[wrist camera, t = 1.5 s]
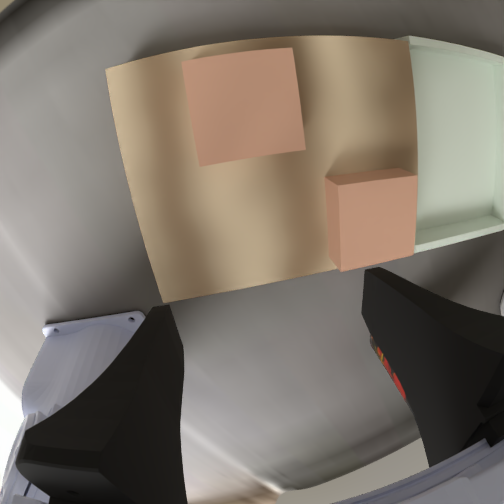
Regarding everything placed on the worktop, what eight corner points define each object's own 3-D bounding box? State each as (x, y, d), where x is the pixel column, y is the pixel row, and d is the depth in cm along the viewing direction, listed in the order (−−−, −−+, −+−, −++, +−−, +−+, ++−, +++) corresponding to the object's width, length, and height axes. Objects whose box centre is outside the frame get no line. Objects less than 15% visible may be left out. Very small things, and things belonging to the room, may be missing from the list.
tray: (398, 239, 23) (415, 252, 21) (388, 40, 17) (408, 35, 14) (491, 218, 24) (508, 228, 22) (492, 59, 17) (512, 59, 15)
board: (167, 279, 22) (163, 303, 19) (119, 74, 16) (105, 69, 13) (393, 234, 23) (413, 250, 20) (383, 46, 17) (408, 41, 14)
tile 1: (328, 256, 20) (340, 271, 18) (324, 176, 17) (337, 185, 16) (397, 241, 20) (413, 254, 18) (399, 167, 18) (417, 175, 16)
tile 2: (200, 160, 16) (199, 166, 14) (183, 67, 14) (181, 61, 12) (294, 144, 16) (305, 149, 15) (282, 54, 14) (292, 47, 12)
